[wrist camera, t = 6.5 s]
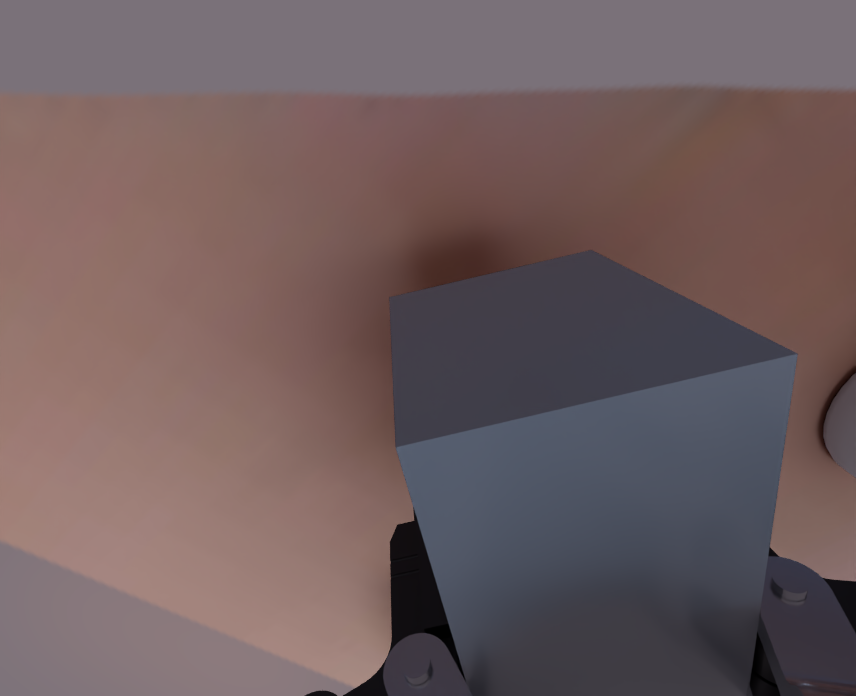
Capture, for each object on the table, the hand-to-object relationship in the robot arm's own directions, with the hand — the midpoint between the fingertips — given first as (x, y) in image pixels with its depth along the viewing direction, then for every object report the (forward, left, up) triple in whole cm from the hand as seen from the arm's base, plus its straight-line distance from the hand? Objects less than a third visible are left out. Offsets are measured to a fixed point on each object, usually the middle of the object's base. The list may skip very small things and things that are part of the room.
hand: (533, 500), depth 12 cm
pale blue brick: (0, 0, -1) cm, 1 cm away
